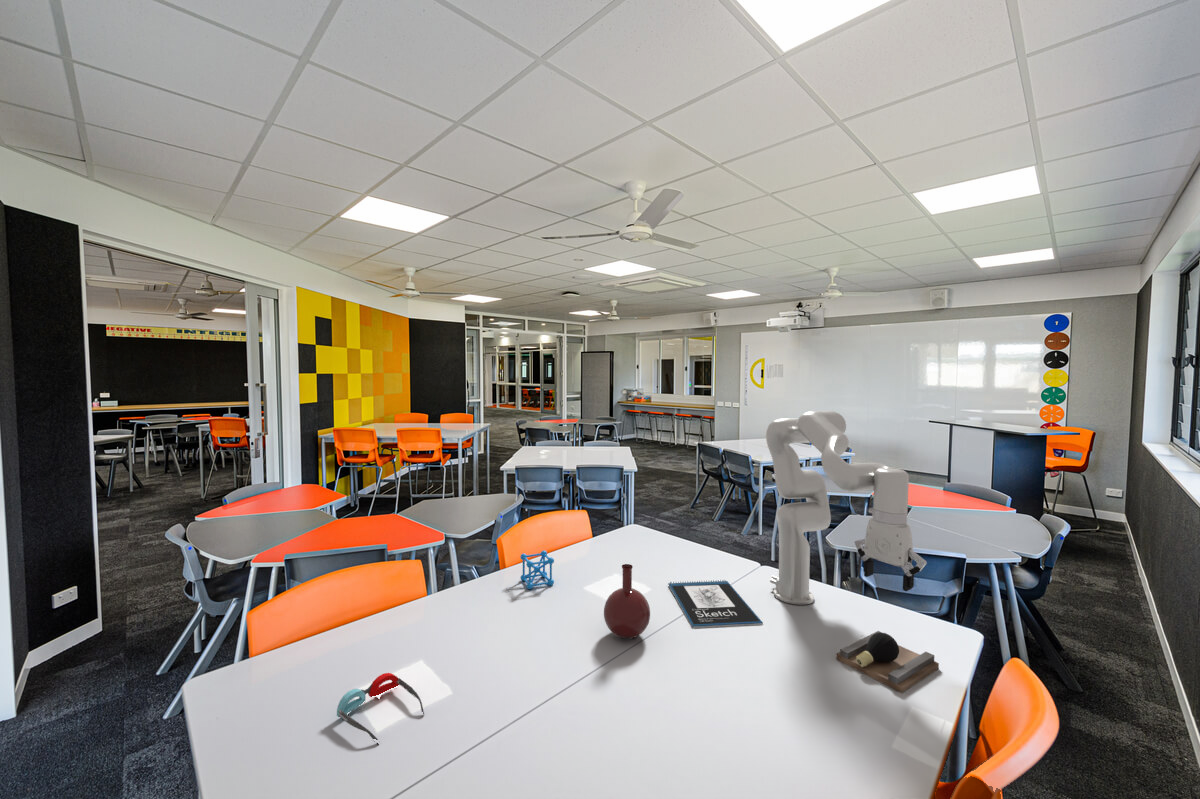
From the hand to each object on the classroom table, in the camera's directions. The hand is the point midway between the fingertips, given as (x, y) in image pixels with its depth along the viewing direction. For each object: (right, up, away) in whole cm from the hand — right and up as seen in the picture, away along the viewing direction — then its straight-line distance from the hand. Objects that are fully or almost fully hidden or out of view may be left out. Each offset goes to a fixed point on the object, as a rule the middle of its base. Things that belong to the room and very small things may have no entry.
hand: (887, 582), depth 123 cm
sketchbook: (-38, -20, +33) cm, 54 cm away
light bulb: (-4, -19, -2) cm, 20 cm away
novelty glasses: (-121, -22, -20) cm, 124 cm away
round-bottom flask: (-66, -20, +13) cm, 71 cm away
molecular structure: (-97, -19, +48) cm, 110 cm away
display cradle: (-1, -21, -1) cm, 21 cm away
